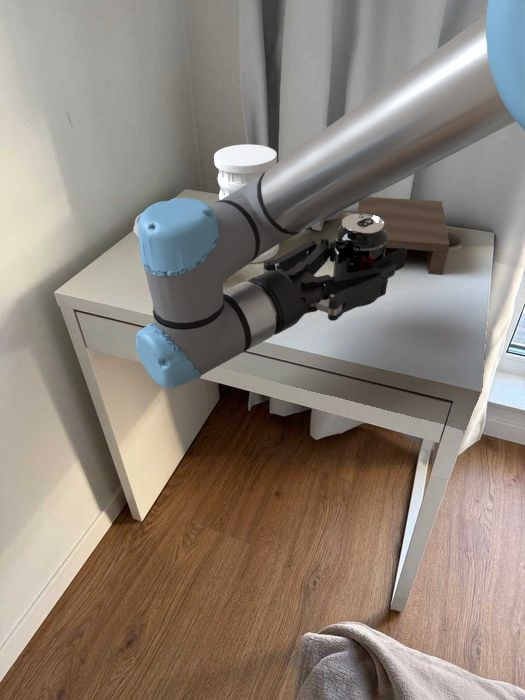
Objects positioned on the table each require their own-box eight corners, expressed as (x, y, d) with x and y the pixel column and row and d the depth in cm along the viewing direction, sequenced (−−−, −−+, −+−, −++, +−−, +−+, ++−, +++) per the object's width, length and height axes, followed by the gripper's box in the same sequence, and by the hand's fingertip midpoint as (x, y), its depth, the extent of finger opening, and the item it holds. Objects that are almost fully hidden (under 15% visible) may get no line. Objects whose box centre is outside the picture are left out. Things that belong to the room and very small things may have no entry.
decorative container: (207, 247, 97) (198, 154, 86) (252, 229, 103) (249, 139, 92) (245, 270, 91) (240, 172, 79) (291, 249, 96) (292, 154, 85)
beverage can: (387, 298, 73) (399, 222, 66) (357, 317, 70) (366, 239, 62) (351, 280, 77) (359, 207, 70) (321, 297, 74) (326, 222, 66)
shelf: (442, 274, 88) (449, 244, 84) (351, 267, 91) (354, 237, 87) (435, 229, 102) (441, 201, 98) (356, 223, 104) (359, 196, 100)
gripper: (215, 300, 69) (331, 246, 80) (315, 372, 57) (435, 297, 68) (210, 252, 64) (334, 202, 75) (318, 319, 52) (446, 248, 63)
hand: (382, 247), depth 72 cm, fingers closed on beverage can, 7 cm apart
